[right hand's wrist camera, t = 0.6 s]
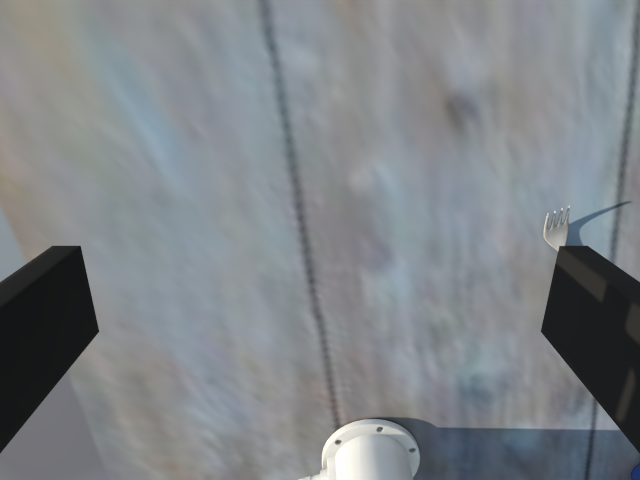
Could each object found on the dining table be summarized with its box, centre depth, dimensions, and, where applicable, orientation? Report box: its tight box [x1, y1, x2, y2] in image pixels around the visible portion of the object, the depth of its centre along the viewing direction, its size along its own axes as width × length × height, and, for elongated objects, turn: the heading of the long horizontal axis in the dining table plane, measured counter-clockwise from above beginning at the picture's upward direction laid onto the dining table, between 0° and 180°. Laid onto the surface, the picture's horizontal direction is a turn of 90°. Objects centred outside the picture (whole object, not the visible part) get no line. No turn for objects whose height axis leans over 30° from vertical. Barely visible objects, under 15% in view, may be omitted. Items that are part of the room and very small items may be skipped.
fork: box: [544, 205, 570, 251], centre depth 48 cm, size 3×16×2 cm, turn 22°
